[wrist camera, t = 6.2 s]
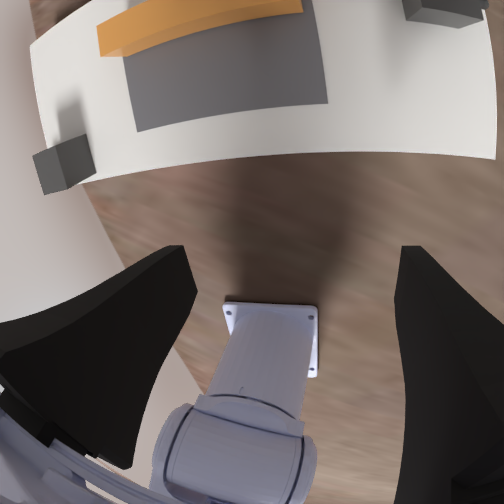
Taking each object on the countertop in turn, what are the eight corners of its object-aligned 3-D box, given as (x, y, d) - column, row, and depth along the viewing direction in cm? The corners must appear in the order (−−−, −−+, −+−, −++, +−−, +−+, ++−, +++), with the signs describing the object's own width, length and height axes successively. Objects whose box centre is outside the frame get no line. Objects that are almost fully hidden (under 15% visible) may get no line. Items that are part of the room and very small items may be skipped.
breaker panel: (474, 147, 14) (495, 159, 11) (82, 175, 22) (58, 189, 20) (448, -39, 7) (464, -54, 5) (55, 43, 16) (28, 46, 13)
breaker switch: (303, 12, 10) (298, -1, 8) (127, 56, 13) (100, 57, 11) (296, -21, 9) (289, -38, 7) (123, 28, 12) (96, 25, 10)
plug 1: (86, 133, 17) (55, 145, 14) (96, 173, 18) (67, 189, 16) (51, 147, 18) (23, 160, 16) (61, 182, 20) (35, 197, 17)
